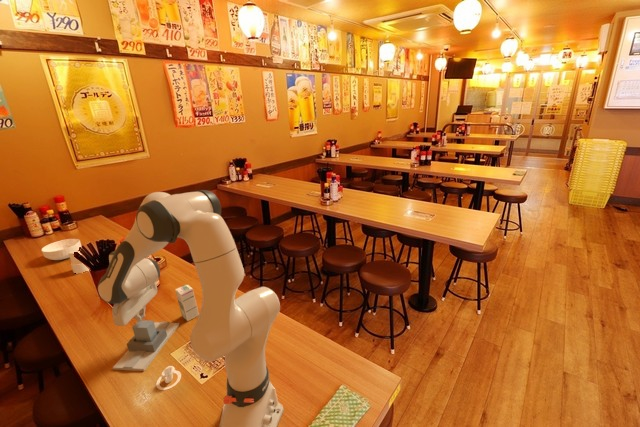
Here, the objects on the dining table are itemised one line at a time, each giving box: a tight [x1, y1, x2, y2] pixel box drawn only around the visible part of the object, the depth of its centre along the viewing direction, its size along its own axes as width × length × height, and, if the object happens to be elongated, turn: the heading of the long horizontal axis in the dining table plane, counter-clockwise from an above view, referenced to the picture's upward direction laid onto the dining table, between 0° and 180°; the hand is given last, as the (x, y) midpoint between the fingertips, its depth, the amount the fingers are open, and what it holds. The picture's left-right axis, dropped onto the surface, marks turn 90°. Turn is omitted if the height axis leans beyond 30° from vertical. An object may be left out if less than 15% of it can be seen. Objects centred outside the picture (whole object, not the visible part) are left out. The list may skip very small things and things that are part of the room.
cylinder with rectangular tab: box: [68, 250, 90, 275], centre depth 178 cm, size 9×9×12 cm
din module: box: [131, 319, 157, 342], centre depth 118 cm, size 4×7×9 cm, turn 85°
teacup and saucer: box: [155, 365, 182, 391], centre depth 104 cm, size 9×8×4 cm
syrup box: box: [175, 283, 200, 322], centre depth 134 cm, size 6×6×14 cm
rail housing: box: [112, 321, 180, 372], centre depth 120 cm, size 24×12×4 cm, turn 175°
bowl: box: [40, 238, 82, 261], centre depth 198 cm, size 20×20×8 cm
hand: (141, 318), depth 116 cm, fingers closed
